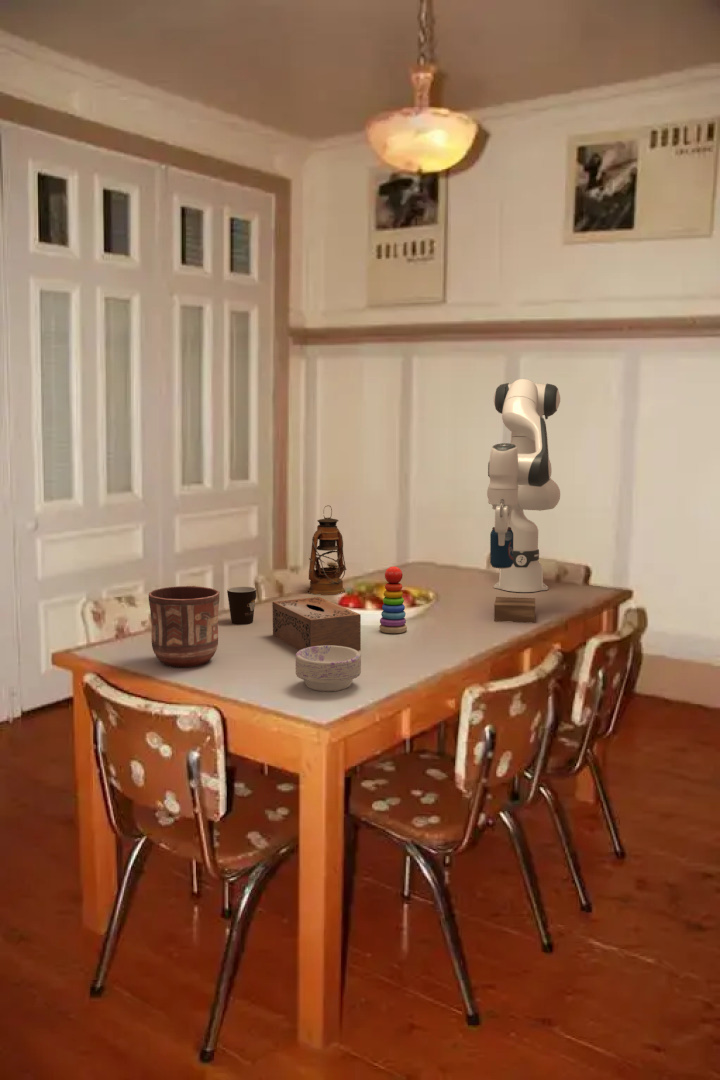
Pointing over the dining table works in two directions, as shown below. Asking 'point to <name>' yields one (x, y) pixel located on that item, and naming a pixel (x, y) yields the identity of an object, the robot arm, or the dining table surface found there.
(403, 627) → the stacking toy
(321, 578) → the lantern
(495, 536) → the soda can
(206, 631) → the pottery
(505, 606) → the block
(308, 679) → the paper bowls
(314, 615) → the tissue box cover
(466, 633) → the dining table surface
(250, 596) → the coffee mug
